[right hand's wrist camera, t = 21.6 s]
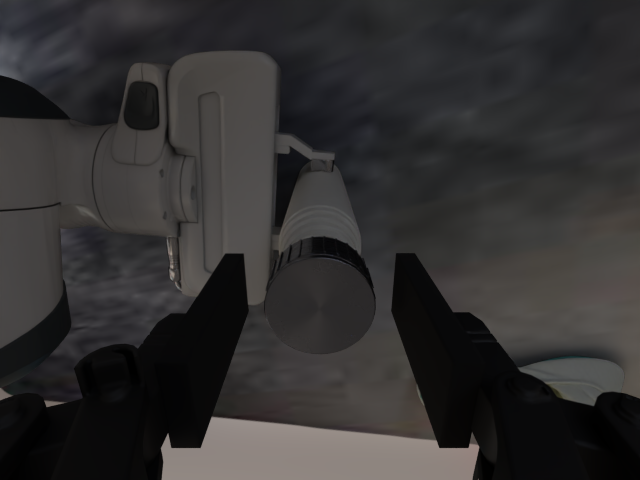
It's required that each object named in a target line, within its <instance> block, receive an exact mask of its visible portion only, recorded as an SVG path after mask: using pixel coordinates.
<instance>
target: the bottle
mask: <svg viewBox="0 0 640 480" xmlns="http://www.w3.org/2000/svg"><path fill="white" fill-rule="evenodd" d="M311 163H312V161H310V162H308V163H307V164H306V165H304V166H303V168H302V169H301V170H300V172H299V175H298V178H297V181H296V184H295V188H294V191H293V194H292V197H291V200H290V203H289V206H288V210H287V213H286V216H285V219H284V222H283V225H282V228H281V232H280V235H279V256H280V254H281V252H283V251H284V250H286V249H287V248H288V247H289V245H290V244H291V245H292V244H294V243H296V242H298V241H300V239H302V240H303V239H306V238H311V236H313V237H323V236H326V237H329V238H334V239H335V238H337V240H340V241H342V242H344V243H348V245H349V246H351V247H352V248H353V249H354V250H357V252H358V254H359V255H361V236H360V232H359V229H358V226H357V223H356V220H355V216H354V213H353V210H352V207H351V204H350V201H349V198H348V195H347V191H346V188H345V185H344V182H343V179H342V176H341V173H340V171H339V169H338V168H337V167H336V166H335V165H334V168H333V172H324V171H323V170H321V171H311Z"/></svg>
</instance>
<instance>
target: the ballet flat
mask: <svg viewBox="0 0 640 480" xmlns="http://www.w3.org/2000/svg"><path fill="white" fill-rule="evenodd" d="M517 368H518V369H519V370H520V372H523V373H527V374H530V375H532V376H534V377H536V378H538V379H540V380H542V381H543V382H544V383H546V384H547V385H548V386H549V387H550V388H552V390H553V391H554V393H555V394H556V396H557V397H559V398H562V399H566V400H570V401H574V402H579V403H583V404H588V405H592V406H594V404H595V402H596V399H597V397H598V396H599V395H600V394H602V393H603V392H612V391H613V392H619V393H621V390H622V387H623V383H624V378H625V374H624V372H623V370H622V368H621V367H620V366H618V365H617V364H615V363H613V362H611V361H608V360H603V359H597V358H591V357H583V356H564V357H557V358H552V359H548V360H544V361H540V362H537V363H533V364H530V365H527V366H523V367H517ZM417 392H418V395H419V398H420V400H421V402H422V403H423V400H422V397H421V394H420V391H419V388H418V385H417ZM423 405H424V403H423ZM424 406H425V405H424Z"/></svg>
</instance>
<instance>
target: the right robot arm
mask: <svg viewBox="0 0 640 480" xmlns="http://www.w3.org/2000/svg"><path fill="white" fill-rule="evenodd" d="M248 311H249V309H248V297H247V285H246V273H245V261H244V253H225V255H224V256H223V258H222V259H221V261H220V262H219V264H218V265H217V267H216V268H215V270H214V271H213V273H212V275H211V276H210V278H209V279H208V281H207V282H206V284H205V285H204V287H203V288H202V290H201V291H200V293H199V295H198V296H197V298H196V299H195V301H194V302H193V304H192V305H191V307H190V308H189V310H188V311H187V313H186V314H169V315H168V316H167V317H165V318H164V319H162V320H161V321H159V322H158V323H157V324H156V326H155V327H154V328H153V330H152V331H151V332H150V335H148V336H147V338H146V339H145V340H144V341H143V342H144V343H143V344H141V345H140V347H139V348H138V349H137V348H136V347H135V346H133V345H128V344H115V345H110V346H107V347H103V348H100V349H98V350H96V351H94V352H92V353H90V354H88V355H87V356H86V357H84V358H83V359H82V360H80V361H79V363H78V364H77V365H76V366H75V368H74V370H75V373H76V376H77V380H78V383H79V386H80V389H81V392H82V396H83V398H82V399H79V400H76V401H72V402H68V403H63V404H59V405H55V406H50V407H46V404H45V402H44V399H43V398H42V397H41V396H40V395H38V394H33V393H24V394H19V395H14V396H11V397H8V398H5V399H3V400H0V480H161V479H162V469H163V457H162V452H161V447H162V445H163V442H164V440H165V438H166V436H167V434H169V438H170V443H171V448H201V445H202V442H203V439H204V437H205V434H206V431H207V428H208V425H209V422H210V420H211V417H212V414H213V411H214V408H215V405H216V403H217V400H218V397H219V394H220V391H221V388H222V385H223V383H224V380H225V377H226V374H227V371H228V368H229V365H230V363H231V360H232V357H233V354H234V351H235V348H236V346H237V343H238V340H239V337H240V334H241V331H242V328H243V326H244V323H245V320H246V317H247V314H248ZM391 311H392V314H393V317H394V320H395V323H396V326H397V328H398V331H399V334H400V337H401V340H402V343H403V346H404V348H405V351H406V354H407V357H408V360H409V363H410V366H411V368H412V371H413V374H414V377H415V380H416V383H417V385H418V388H419V391H420V394H421V397H422V400H423V403H424V405H425V408H426V411H427V414H428V417H429V420H430V422H431V425H432V428H433V431H434V434H435V437H436V440H437V442H438V445H439V448H468V447H469V443H470V438H471V434H472V432H473V434H474V436H475V439H476V441H477V443H478V445H479V452H478V456H477V461H476V465H475V470H474V474H473V480H478V478H479V480H640V399H639V398H637V397H634V396H631V395H628V394H625V393H619V392H613V391H612V392H603V393H602V394H600V395H599V396H598V397H597V399H596V402H595V404H594V406H592V405H588V404H583V403H579V402H574V401H570V400H566V399H562V398H559V397H557V396H556V394H555V393H554V391H553V390H552V388H550V387H549V386H548V385H547V384H546V383H544V382H543V381H542V380H540V379H538V378H536V377H534V376H532V375H530V374H527V373H523V372H520V370H519V369H518V368H517V366H516V365H515V364H514V362H513V361H512V360H511V358H510V357H509V356H508V354H507V353H506V352H505V351H504V349H503V348H502V347H501V345H500V344H499V343H497V340H496V339H495V337H494V336H493V335H492V334H490V331H489V329H488V328H487V327H486V326H485V324H484V323H483V322H482V321H481V320H480V319H478V318H477V317H475V316H474V315H472V314H471V313H469V312H453V311H452V310H451V308H450V307H449V305H448V304H447V302H446V301H445V299H444V298H443V296H442V295H441V293H440V291H439V290H438V288H437V287H436V285H435V284H434V282H433V281H432V279H431V278H430V276H429V275H428V273H427V271H426V270H425V268H424V267H423V265H422V264H421V262H420V261H419V259H418V258H417V256H416V255H415V253H396V261H395V273H394V285H393V297H392V309H391Z"/></svg>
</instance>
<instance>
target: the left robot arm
mask: <svg viewBox="0 0 640 480" xmlns="http://www.w3.org/2000/svg"><path fill="white" fill-rule="evenodd" d="M280 91H281V68H280V67H279V65H278V64H277V62H276V61H275V60H274V59H273V58H272V57H271V56H270V55H269V54H267V53H264V52H258V51H241V50H227V51H209V52H199V53H193V54H189V55H186V56H184V57H182V58H180V59H178V60H177V61H176V62H175V63H174V64H173V65H172V66H170V65H166V64H161V63H154V62H142V63H135V64H133V65H132V66H131V68H130V70H129V73H128V77H127V82H126V87H125V92H124V97H123V102H122V106H121V111H120V115H119V119H118V123H111V124H105V125H100V126H92V125H87V124H84V123H81V122H79V121H76V120H73V119H70V118H69V117H68V116H67V115H66V114H65V113H64V112H63V111H62V110H61V109H60V108H59V107H58V106H57V105H55V104H54V103H53V102H51V101H50V100H49V99H48V98H46V97H45V96H44V95H42V94H41V93H40V92H38V91H37V90H36V89H34V88H33V87H31V86H29V85H27V84H25V83H23V82H20V81H18V80H15V79H12V78H9V77H5V76H1V75H0V388H1V387H3V386H6V385H8V384H10V383H12V382H14V381H16V380H18V379H20V378H22V377H24V376H25V375H27V374H28V373H30V372H31V371H32V370H34V369H35V368H36V367H38V366H39V365H40V364H41V363H42V362H43V361H44V360H45V359H46V358H48V357H49V355H50V354H51V353H52V352H53V351H54V350H55V349H56V348H57V347H58V346H59V344H60V343H61V342H62V341H63V340H64V338H65V337H66V336H67V334H68V333H69V331H70V328H71V317H70V311H69V305H68V298H67V292H66V286H65V281H64V280H63V272H62V254H61V235H60V228H62V229H73V228H79V227H84V226H96V227H100V228H103V229H105V230H108V231H111V232H116V233H126V234H138V235H151V236H163V237H166V244H167V254H168V258H169V269H168V270H169V277H170V280H171V281H173V282H174V283H175V285H176V286H177V288H178V289H179V290H180V291H181V292H182V293H183V294H184V295H187V296H192V297H197V296H198V295H199V293H200V291H201V290H202V288H203V287H204V285H205V284H206V282H207V281H208V279H209V278H210V276H211V275H212V273H213V271H214V270H215V268H216V267H217V265H218V264H219V262H220V261H221V259H222V258H223V256H224V255H225V253H244V261H245V273H246V285H247V297H248V305H258V304H260V303H262V302H263V301H264V299H265V295H266V292H267V291H265V289H266V286H267V283H268V279H269V276H270V273H271V270H272V268H273V260H274V250H279V235H280V232H281V228H282V227H276V226H275V212H276V188H277V163H278V153H283V154H289V153H290V151H291V150H292V148H294V149H295V150H297V151H298V152H300V153H301V154H303V155H304V156H306V157H307V158H308V159H310V160H311V159H312V163H311V171H321V170H323V171H324V172H333V168H334V158H335V152H333V151H325V150H314V149H313V148H312V147H311V146H309V145H308V144H307V143H305V142H304V141H302V140H301V139H300V138H298V137H297V136H295V135H294V134H291V133H280V132H279V115H280ZM180 280H181V284H180V282H179V281H180Z"/></svg>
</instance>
